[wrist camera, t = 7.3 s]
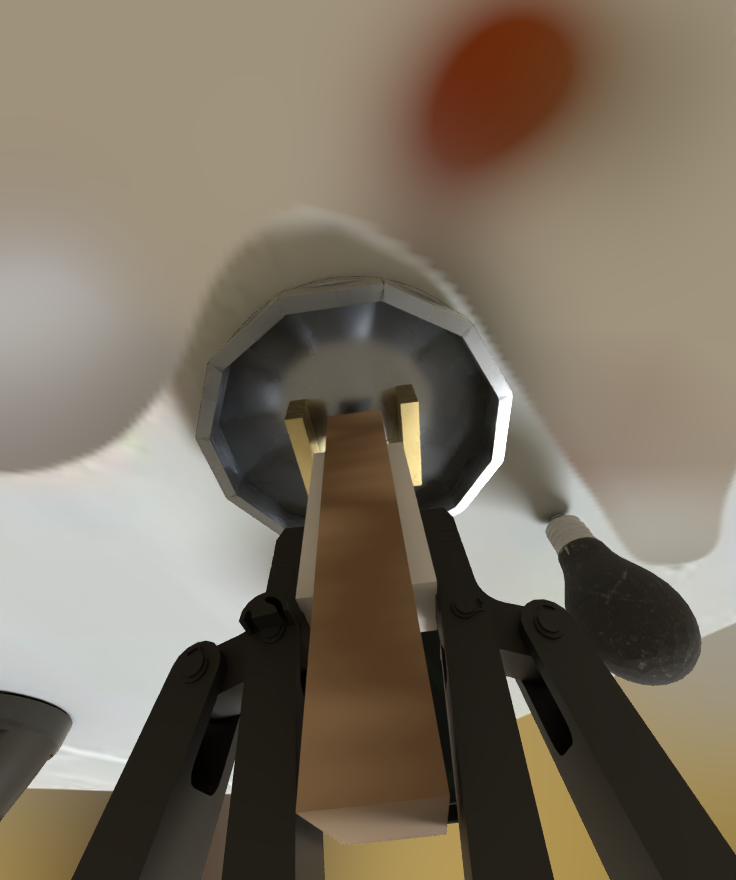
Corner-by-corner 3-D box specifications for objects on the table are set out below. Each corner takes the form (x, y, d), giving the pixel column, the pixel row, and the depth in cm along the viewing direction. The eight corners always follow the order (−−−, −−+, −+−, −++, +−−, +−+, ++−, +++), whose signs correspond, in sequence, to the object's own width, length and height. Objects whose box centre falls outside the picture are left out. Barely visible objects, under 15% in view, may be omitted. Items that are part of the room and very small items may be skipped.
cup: (393, 594, 28) (421, 803, 18) (477, 600, 29) (544, 797, 19) (373, 638, 32) (386, 827, 22) (446, 642, 34) (489, 821, 24)
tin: (263, 533, 23) (255, 566, 21) (157, 303, 14) (124, 320, 12) (482, 504, 22) (497, 535, 20) (509, 251, 14) (540, 259, 12)
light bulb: (502, 536, 24) (582, 701, 16) (550, 481, 22) (677, 648, 13) (562, 549, 26) (664, 707, 18) (615, 499, 23) (766, 660, 15)
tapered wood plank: (343, 488, 18) (343, 845, 8) (327, 416, 15) (295, 812, 5) (389, 483, 18) (446, 834, 8) (380, 409, 15) (449, 796, 5)
